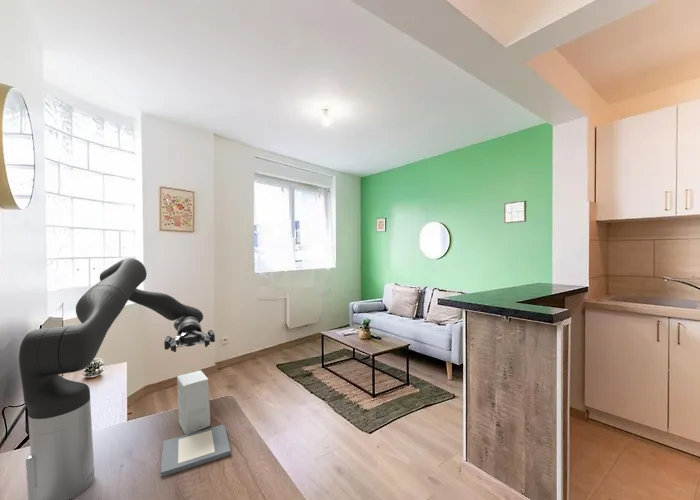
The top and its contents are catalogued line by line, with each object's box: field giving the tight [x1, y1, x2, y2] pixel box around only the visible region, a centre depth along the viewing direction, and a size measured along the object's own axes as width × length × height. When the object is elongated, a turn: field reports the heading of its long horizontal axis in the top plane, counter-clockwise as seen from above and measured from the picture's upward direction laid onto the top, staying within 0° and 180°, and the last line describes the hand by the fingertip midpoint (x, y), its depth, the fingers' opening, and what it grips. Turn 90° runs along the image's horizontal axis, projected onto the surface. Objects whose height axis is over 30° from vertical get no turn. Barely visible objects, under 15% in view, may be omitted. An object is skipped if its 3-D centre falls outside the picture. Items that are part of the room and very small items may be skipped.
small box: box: [176, 369, 211, 435], centre depth 86 cm, size 8×6×13 cm
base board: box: [160, 423, 232, 478], centre depth 76 cm, size 14×12×1 cm
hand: (190, 346), depth 95 cm, fingers open, 8 cm apart
